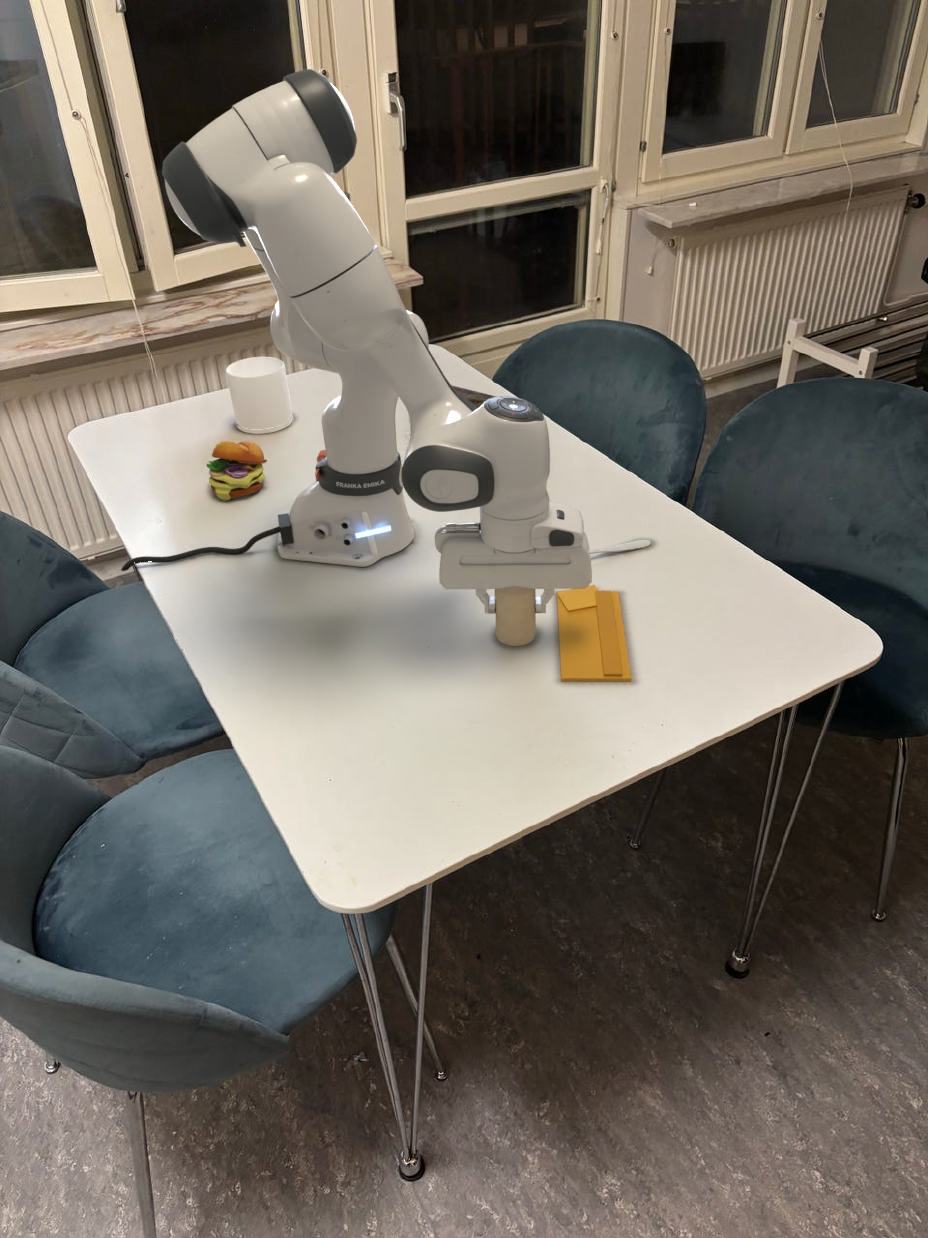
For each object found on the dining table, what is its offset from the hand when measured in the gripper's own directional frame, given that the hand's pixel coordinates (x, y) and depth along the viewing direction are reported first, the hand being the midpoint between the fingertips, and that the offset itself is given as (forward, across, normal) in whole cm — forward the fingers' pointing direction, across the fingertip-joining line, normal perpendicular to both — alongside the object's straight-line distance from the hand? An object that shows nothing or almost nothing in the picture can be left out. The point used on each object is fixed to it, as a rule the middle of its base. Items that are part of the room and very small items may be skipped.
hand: (515, 611), depth 124 cm
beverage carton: (+4, -12, +72) cm, 73 cm away
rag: (+4, +10, 0) cm, 11 cm away
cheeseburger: (+4, -51, +45) cm, 68 cm away
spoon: (+4, +12, +20) cm, 24 cm away
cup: (+4, -53, +74) cm, 91 cm away
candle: (+4, 0, 0) cm, 4 cm away
